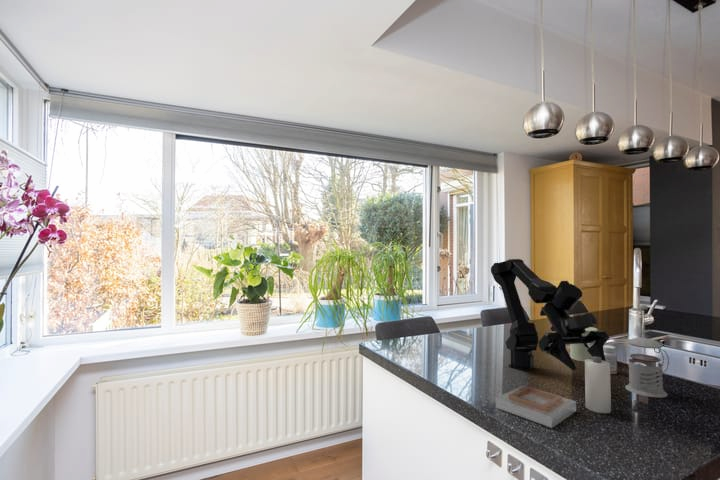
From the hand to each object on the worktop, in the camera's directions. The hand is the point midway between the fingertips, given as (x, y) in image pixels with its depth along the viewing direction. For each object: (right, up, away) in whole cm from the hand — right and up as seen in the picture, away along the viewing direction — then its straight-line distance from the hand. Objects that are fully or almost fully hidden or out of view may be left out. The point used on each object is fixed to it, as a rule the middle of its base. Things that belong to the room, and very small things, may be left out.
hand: (590, 368), depth 96 cm
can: (+23, -11, +41) cm, 48 cm away
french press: (+23, -10, +9) cm, 27 cm away
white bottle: (0, -9, -3) cm, 10 cm away
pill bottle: (+23, -10, +26) cm, 36 cm away
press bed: (-16, -9, -3) cm, 19 cm away
